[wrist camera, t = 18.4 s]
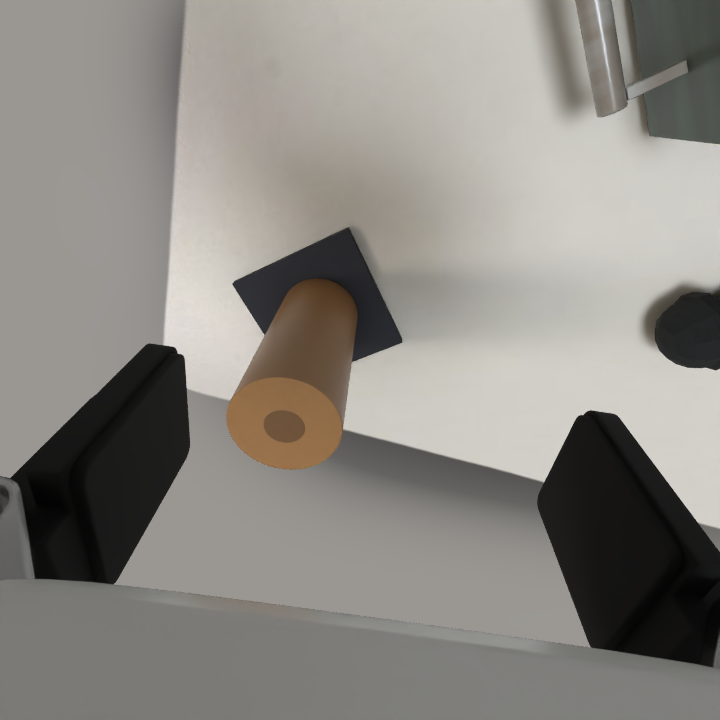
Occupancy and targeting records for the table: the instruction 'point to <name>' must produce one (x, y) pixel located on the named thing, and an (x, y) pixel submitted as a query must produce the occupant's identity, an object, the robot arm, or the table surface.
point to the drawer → (659, 64)
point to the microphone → (691, 331)
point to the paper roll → (298, 379)
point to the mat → (331, 262)
